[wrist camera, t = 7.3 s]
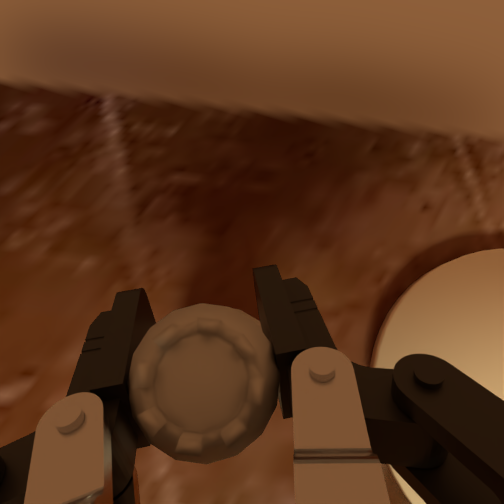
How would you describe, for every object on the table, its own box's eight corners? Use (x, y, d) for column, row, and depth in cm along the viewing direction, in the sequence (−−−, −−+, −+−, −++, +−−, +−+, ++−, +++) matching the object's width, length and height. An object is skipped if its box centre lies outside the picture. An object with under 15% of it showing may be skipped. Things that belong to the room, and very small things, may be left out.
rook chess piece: (189, 293, 16) (135, 239, 8) (292, 328, 15) (343, 309, 8) (147, 402, 14) (37, 466, 7) (257, 442, 14) (274, 558, 6)
